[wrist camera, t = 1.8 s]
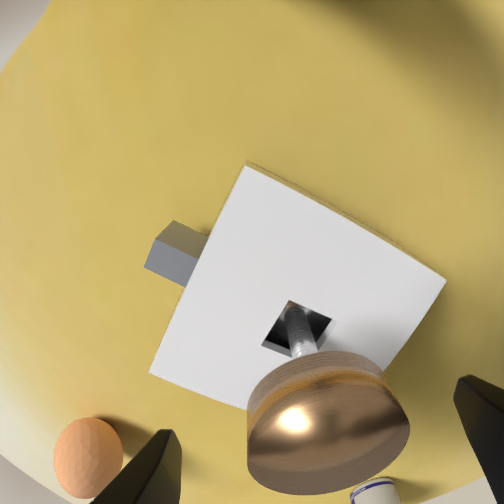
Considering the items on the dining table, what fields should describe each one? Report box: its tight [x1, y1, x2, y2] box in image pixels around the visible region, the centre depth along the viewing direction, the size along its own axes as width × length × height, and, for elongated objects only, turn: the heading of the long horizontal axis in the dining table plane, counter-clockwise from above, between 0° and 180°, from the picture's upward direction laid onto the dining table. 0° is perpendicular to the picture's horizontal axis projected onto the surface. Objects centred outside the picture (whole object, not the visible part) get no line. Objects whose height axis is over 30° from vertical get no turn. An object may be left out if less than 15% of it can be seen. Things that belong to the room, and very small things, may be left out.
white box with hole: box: [144, 160, 447, 410], centre depth 16 cm, size 12×10×7 cm
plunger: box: [247, 300, 410, 495], centre depth 11 cm, size 5×5×8 cm
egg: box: [54, 417, 123, 499], centre depth 20 cm, size 6×6×8 cm
